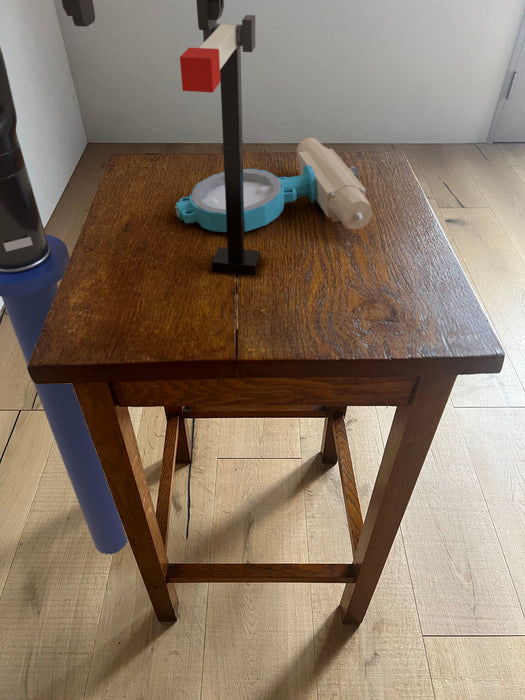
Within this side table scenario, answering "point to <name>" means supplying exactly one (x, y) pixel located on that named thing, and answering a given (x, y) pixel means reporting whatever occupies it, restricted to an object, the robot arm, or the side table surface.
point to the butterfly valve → (283, 192)
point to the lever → (209, 58)
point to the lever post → (234, 159)
